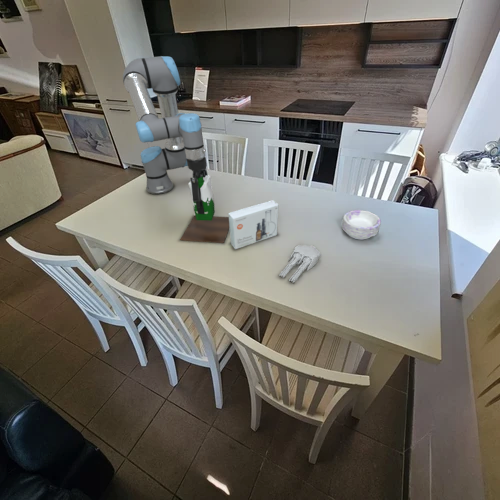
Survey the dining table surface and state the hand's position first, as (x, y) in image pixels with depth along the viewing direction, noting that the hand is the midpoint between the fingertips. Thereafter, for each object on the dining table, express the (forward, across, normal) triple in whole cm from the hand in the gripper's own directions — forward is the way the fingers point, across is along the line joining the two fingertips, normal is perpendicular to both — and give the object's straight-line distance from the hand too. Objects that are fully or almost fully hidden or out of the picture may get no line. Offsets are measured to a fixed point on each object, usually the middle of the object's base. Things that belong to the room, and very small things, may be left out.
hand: (204, 207), depth 123 cm
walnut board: (+12, 0, 0) cm, 12 cm away
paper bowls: (+12, +3, -68) cm, 69 cm away
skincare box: (+12, -6, -23) cm, 27 cm away
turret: (+12, -21, -43) cm, 49 cm away
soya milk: (+5, 0, 0) cm, 5 cm away
